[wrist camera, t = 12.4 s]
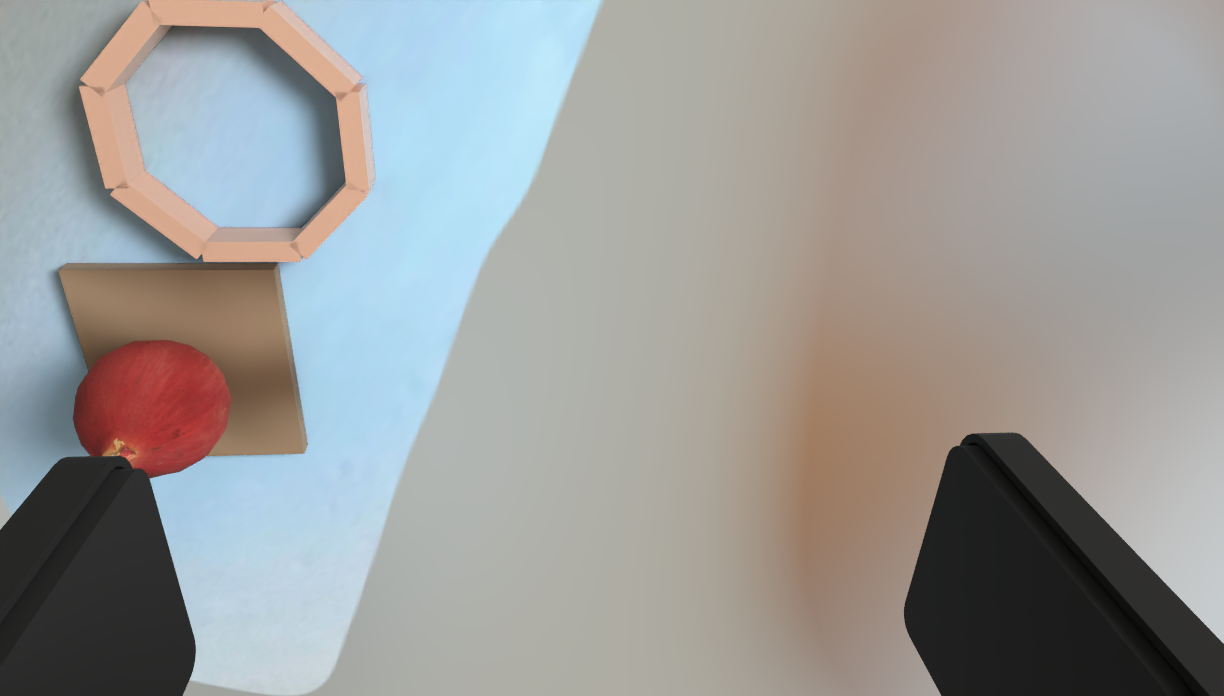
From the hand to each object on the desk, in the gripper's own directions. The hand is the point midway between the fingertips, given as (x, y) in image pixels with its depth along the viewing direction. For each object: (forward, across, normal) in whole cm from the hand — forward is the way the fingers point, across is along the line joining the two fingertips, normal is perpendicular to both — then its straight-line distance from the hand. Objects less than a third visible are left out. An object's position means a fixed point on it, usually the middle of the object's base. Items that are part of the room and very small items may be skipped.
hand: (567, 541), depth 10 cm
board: (+28, +16, +13) cm, 35 cm away
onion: (+28, +16, +13) cm, 35 cm away
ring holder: (+28, +12, +2) cm, 31 cm away
